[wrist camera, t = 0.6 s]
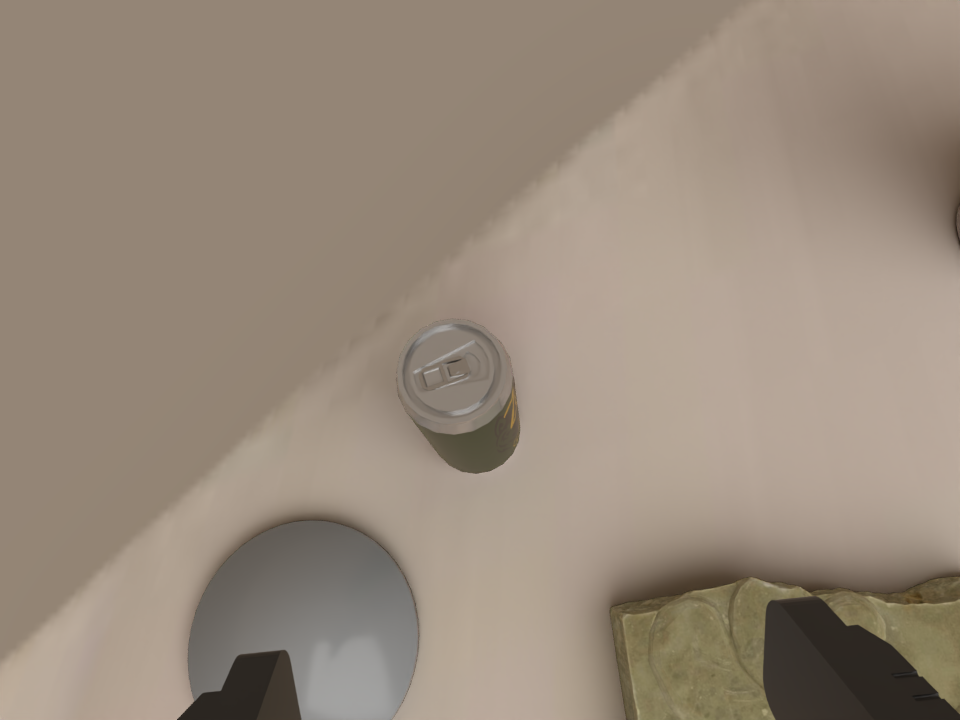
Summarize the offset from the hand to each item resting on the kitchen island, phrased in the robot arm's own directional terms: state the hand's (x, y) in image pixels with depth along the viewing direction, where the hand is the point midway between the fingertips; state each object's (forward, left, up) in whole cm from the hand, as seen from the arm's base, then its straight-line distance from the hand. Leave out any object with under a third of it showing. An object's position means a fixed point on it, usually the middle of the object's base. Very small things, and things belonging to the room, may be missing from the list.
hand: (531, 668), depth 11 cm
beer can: (-4, -10, -27) cm, 29 cm away
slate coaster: (+11, -7, -27) cm, 30 cm away
